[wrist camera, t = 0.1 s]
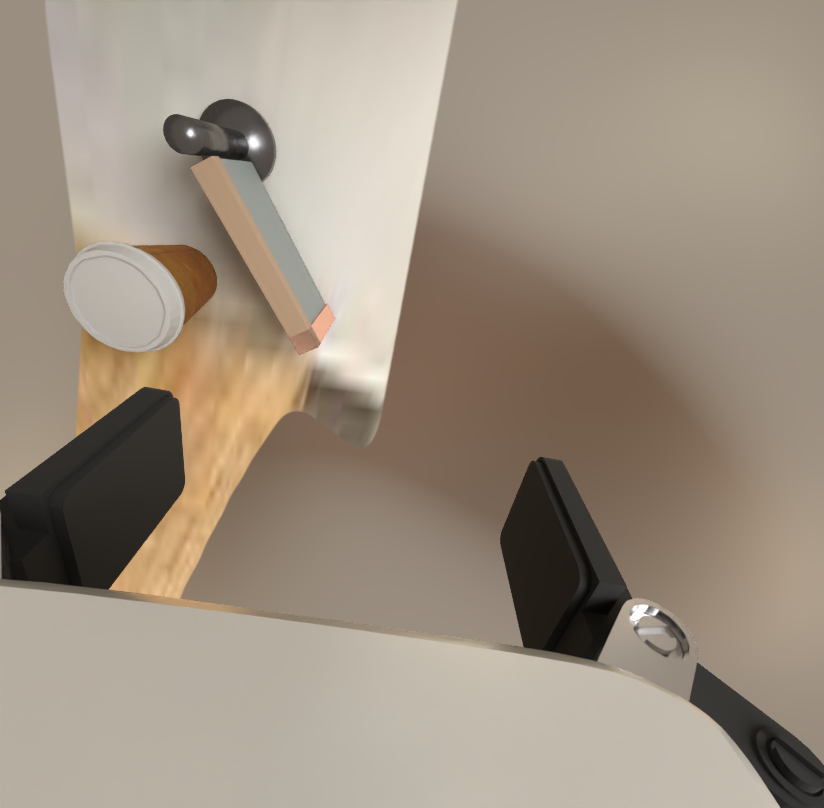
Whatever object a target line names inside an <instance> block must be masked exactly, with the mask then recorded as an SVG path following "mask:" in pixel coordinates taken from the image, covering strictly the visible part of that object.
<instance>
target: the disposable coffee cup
mask: <svg viewBox="0 0 824 808" xmlns="http://www.w3.org/2000/svg"><path fill="white" fill-rule="evenodd" d="M63 284H64V285H63V286H64V295H65V298H66V301H67V304H68V306H69V308H70V311H71V313H72V314H73V316H74V317H75V319H76V320H77V321H78V323H79V324H80V325H81V326H82V327H83V328H84V330H86V331H87V332H88V333H89V334H90V335H92V336H93V337H94V338H95V339H97V340H98V341H100V342H102V343H104V344H105V345H107V346H109V347H112V348H115V349H118V350H122V351H128V352H153V351H156V350H160V349H163V348H164V347H166V346H168V345H170V344H171V343H172V342H173V341H174V340H175V339H176V338H177V336H178V335H179V333H180V332H181V329H182V326H183V325H184V324H185V323H186V322H187V321H188V320H189V319H190V318H191V317H192V316H193V315H194V314H195V313H196V312H197V311H198V310H199V309H200V308H201V307H202V306H203V305H204V304H205V303H206V302H207V301H208V300H209V299H210V298H211V297H212V296H213V294H214V293H215V290H216V287H217V277H216V273H215V270H214V268H213V266H212V264H211V263H210V261H209V260H208V259H207V258H206V256H205V255H203V254H202V253H201V252H200V251H198V250H196V249H194V248H192V247H189V246H186V245H151V246H149V245H146V246H144V245H143V246H131V245H128V244H124V243H119V242H99V243H94V244H91V245H89V246H87V247H85V248H84V249H82V250H81V251H80V252H79V253H78V254H77V255H76V256H75V258H74V259H73V261H72V262H71V263H70V265H69V266H68V268H67V270H66V273H65V275H64V283H63Z"/></svg>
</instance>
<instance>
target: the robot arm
mask: <svg viewBox="0 0 824 808" xmlns="http://www.w3.org/2000/svg"><path fill="white" fill-rule="evenodd" d="M184 485H185V473H184V460H183V447H182V433H181V420H180V407H179V401H178V399H177V398H173V395H172V393H171V392H170V391H166V390H160V389H154V388H149V387H144V388H142V389H140V390H139V391H137V392H136V393H135V394H133V395H132V396H131V397H129V398H128V399H127V400H125V401H124V402H123V403H121V404H120V405H119V406H117V407H116V408H115V409H113V410H112V411H111V412H109V413H108V414H107V415H105V416H104V417H103V418H101V419H100V420H99V421H97V422H96V423H95V424H93V425H92V426H91V427H89V428H88V429H87V430H85V431H84V432H83V433H81V434H80V435H79V436H77V437H76V438H75V439H74V440H72V441H71V442H69V443H68V444H67V445H65V446H64V447H63V448H61V449H60V450H59V451H57V452H56V453H55V454H54V455H52V456H51V457H50V458H48V459H47V460H45V461H44V462H43V463H41V464H40V465H39V466H37V467H36V468H35V469H33V470H32V471H31V472H29V473H28V474H27V475H25V476H24V477H23V478H21V479H20V480H19V481H17V482H16V483H15V484H13V485H12V486H11V487H9V488H8V489H7V490H5V493H6V496H5V497H3V498H2V499H1V500H0V808H824V765H823V764H822V763H821V761H820V760H819V759H818V758H817V757H816V756H815V755H814V754H813V753H812V752H811V750H810V749H809V748H808V747H806V746H805V745H804V744H803V743H802V742H801V741H799V740H798V739H797V738H796V737H795V736H793V735H792V734H791V733H790V732H788V731H787V730H786V729H784V728H783V727H782V726H780V725H779V724H778V723H776V722H775V721H774V720H772V719H771V718H770V717H769V716H767V715H766V714H765V713H763V712H762V711H761V710H759V709H758V708H757V707H755V706H754V705H753V704H751V703H750V702H749V701H747V700H746V699H745V698H743V697H742V696H741V695H739V694H738V693H737V692H736V691H734V690H733V689H731V688H730V687H729V686H728V685H726V684H725V683H724V682H722V681H721V680H720V679H718V678H717V677H716V676H714V675H713V674H712V673H710V672H709V671H708V670H707V669H705V668H704V667H703V666H701V665H700V664H699V663H697V660H698V648H697V646H696V643H695V640H694V638H693V636H692V635H691V633H690V632H689V630H688V629H687V627H686V626H685V625H684V624H683V623H682V622H681V621H680V620H679V619H678V618H677V617H676V616H675V615H673V614H672V613H671V612H669V611H668V610H667V609H665V608H664V607H662V606H660V605H658V604H656V603H654V602H651V601H648V600H645V599H637V598H634V599H632V597H631V595H630V593H629V591H628V589H627V586H626V584H625V582H624V580H623V578H622V576H621V574H620V572H619V570H618V568H617V566H616V564H615V562H614V560H613V558H612V557H611V555H610V553H609V551H608V549H607V547H606V545H605V543H604V541H603V539H602V537H601V535H600V533H599V531H598V529H597V527H596V526H595V523H594V522H593V520H592V518H591V516H590V514H589V512H588V510H587V508H586V506H585V504H584V502H583V500H582V498H581V496H580V494H579V492H578V490H577V488H576V487H575V485H574V483H573V481H572V479H571V477H570V475H569V473H568V471H567V469H566V467H565V465H564V464H563V462H562V461H560V460H556V459H550V458H544V457H540V458H538V459H537V461H531V463H530V464H529V466H528V469H527V471H526V473H525V476H524V478H523V481H522V483H521V486H520V488H519V490H518V493H517V495H516V498H515V500H514V503H513V505H512V508H511V510H510V513H509V515H508V517H507V520H506V522H505V524H504V527H503V529H502V532H501V537H500V544H501V548H502V553H503V558H504V562H505V567H506V571H507V575H508V580H509V584H510V589H511V593H512V598H513V602H514V606H515V610H516V615H517V620H518V624H519V628H520V633H521V637H522V641H523V646H524V647H518V646H512V645H506V644H499V643H493V642H487V641H480V640H473V639H466V638H459V637H452V636H445V635H438V634H431V633H424V632H417V631H410V630H403V629H396V628H389V627H382V626H375V625H368V624H360V623H353V622H346V621H339V620H332V619H325V618H317V617H310V616H303V615H295V614H288V613H281V612H274V611H266V610H259V609H251V608H244V607H237V606H229V605H222V604H214V603H207V602H199V601H191V600H184V599H176V598H169V597H161V596H154V595H146V594H138V593H131V592H123V591H114V590H109V588H110V587H111V586H112V584H113V583H114V582H115V580H116V579H117V578H118V576H119V575H120V574H121V572H122V571H123V570H124V569H125V567H126V566H127V565H128V563H129V562H130V561H131V559H132V558H133V557H134V555H135V554H136V553H137V551H138V550H139V549H140V547H141V546H142V545H143V543H144V542H145V541H146V540H147V538H148V537H149V536H150V534H151V533H152V532H153V530H154V529H155V528H156V526H157V525H158V524H159V522H160V521H161V520H162V518H163V517H164V516H165V514H166V513H167V512H168V511H169V509H170V508H171V507H172V505H173V504H174V503H175V501H176V500H177V499H178V497H179V496H180V495H181V493H182V491H183V488H184Z"/></svg>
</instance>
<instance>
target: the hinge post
mask: <svg viewBox="0 0 824 808" xmlns="http://www.w3.org/2000/svg"><path fill="white" fill-rule="evenodd" d="M163 131H164V136H165V139H166V141H167V143H168V144H169V146H170V147H171V148H172V149H173V150H175V151H176V152H178V153H181V154H188V155H197V156H202V157H203V159H204V160H205V159H207V158H209V157H211V156H218V157H219V158H220V159H229V160H238V161H247V162H252V164H253V165H254V167H255V169H256V171H257V173H258V175H259V177H260V179H261V181H262V182H263V181H264V180H266V179H267V177H268V176H269V175H270V173H271V172H272V170H273V167H274V164H275V159H276V145H275V140H274V136H273V133H272V131H271V129H270V127H269V125H268V123H267V122H266V120H265V119H264V118H263V117H262V115H261V114H260V113H259V112H257V111H256V110H255V109H254V108H252V107H251V106H249V105H247V104H245V103H243V102H240V101H237V100H233V99H224V100H219V101H217V102H214V103H213V104H211V105H210V106H209V107H208V108H207V109H206V110H205V111H204V113H203V114H202V116H201V118H200V120H197V119H194V118H190V117H186V116H183V115H179V114H174V115H171V116H169V117H168V118H167V119H166V120H165V123H164V127H163Z"/></svg>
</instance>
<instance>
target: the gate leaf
mask: <svg viewBox="0 0 824 808" xmlns="http://www.w3.org/2000/svg"><path fill="white" fill-rule="evenodd" d="M190 168H191V170H192V172H193V173H194V175H195V177H196V179H197V180H198V182H199V184H200V186H201V187H202V189H203V191H204V192H205V194H206V196H207V198H208V199H209V201H210V203H211V204H212V206H213V208H214V210H215V211H216V213H217V215H218V216H219V218H220V220H221V222H222V223H223V225H224V227H225V229H226V230H227V232H228V234H229V235H230V237H231V239H232V241H233V242H234V244H235V246H236V247H237V249H238V251H239V253H240V254H241V256H242V258H243V259H244V261H245V263H246V265H247V266H248V268H249V270H250V272H251V273H252V275H253V277H254V278H255V280H256V282H257V284H258V285H259V287H260V289H261V290H262V292H263V294H264V296H265V297H266V299H267V301H268V302H269V304H270V306H271V308H272V309H273V311H274V313H275V314H276V316H277V318H278V320H279V321H280V323H281V325H282V327H283V328H284V330H285V332H286V333H287V335H288V337H289V339H290V340H291V342H292V344H293V345H294V347H295V349H296V351H297V352H298V354H299V355H300V354H303V353H305V352H308V351H310V350H313V349H315V348H317V347H318V346H319V345H320V343H321V341H322V340H323V338H324V336H325V335H326V333H327V331H328V330H329V328H330V327H331V325H332V323H333V322H334V320H335V317H334V315H333V313H332V311H331V309H330V307H329V305H328V304H325V302H324V301H323V299H322V297H321V295H320V293H319V291H318V289H317V287H316V285H315V283H314V281H313V279H312V277H311V275H310V274H309V272H308V270H307V268H306V266H305V264H304V262H303V260H302V258H301V256H300V254H299V252H298V250H297V248H296V247H295V245H294V243H293V241H292V239H291V237H290V235H289V233H288V231H287V229H286V227H285V225H284V223H283V221H282V220H281V218H280V216H279V214H278V212H277V210H276V208H275V206H274V204H273V202H272V200H271V198H270V196H269V194H268V192H267V191H266V189H265V187H264V185H263V183H262V181H261V179H260V177H259V175H258V173H257V171H256V169H255V167H254V165H253V164H252V162H247V161H238V160H229V159H220V158H219V157H218V156H211V157H209V158H207V159H205V160H203V161H201V162H200V163H198V164H196V165H194V166H192V167H190Z"/></svg>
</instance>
